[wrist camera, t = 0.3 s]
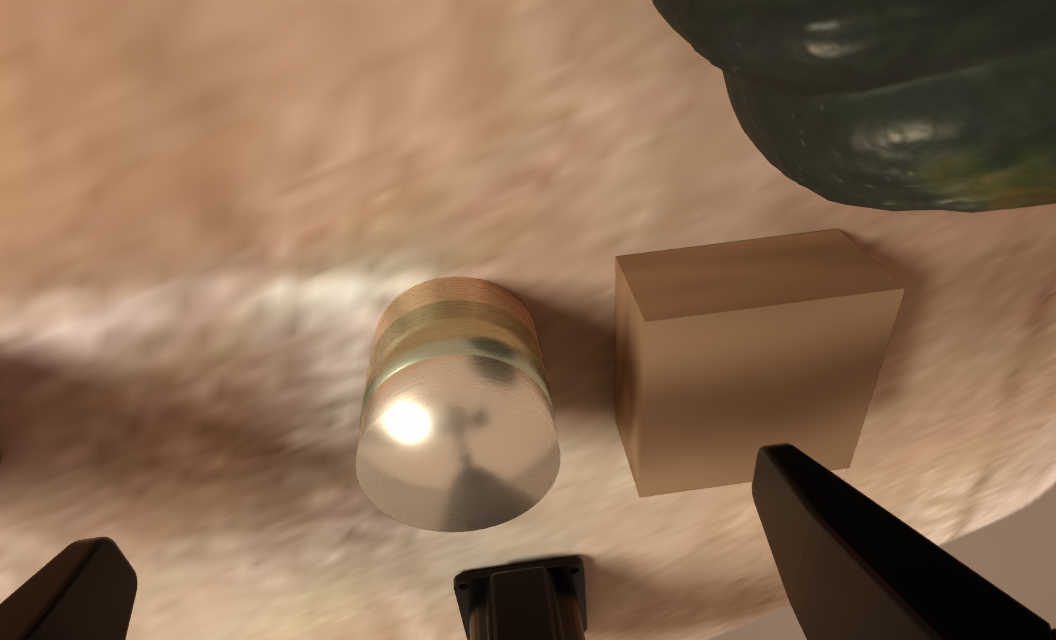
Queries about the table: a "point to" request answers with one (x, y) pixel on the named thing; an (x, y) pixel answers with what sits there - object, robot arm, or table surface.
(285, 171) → the table surface
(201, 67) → the table surface
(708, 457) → the block
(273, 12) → the table surface
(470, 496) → the tin
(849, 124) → the squash
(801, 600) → the robot arm
